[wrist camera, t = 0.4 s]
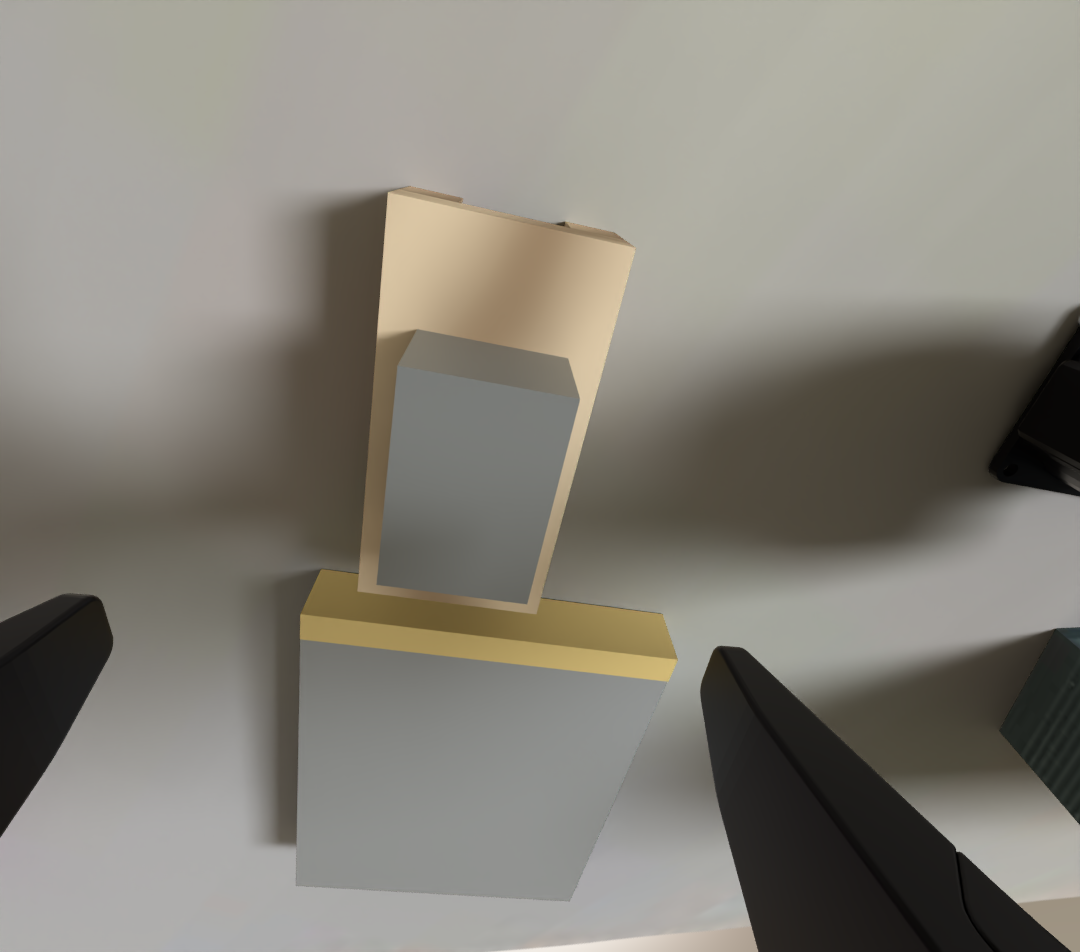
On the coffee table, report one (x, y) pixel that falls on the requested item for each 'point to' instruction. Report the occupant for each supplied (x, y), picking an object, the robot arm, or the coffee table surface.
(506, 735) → the dock
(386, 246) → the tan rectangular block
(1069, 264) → the coffee table surface
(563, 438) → the gray rectangular block
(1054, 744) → the cassette player
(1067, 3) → the coffee table surface
